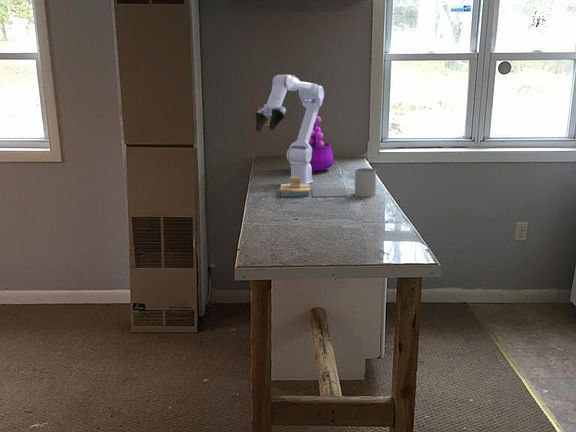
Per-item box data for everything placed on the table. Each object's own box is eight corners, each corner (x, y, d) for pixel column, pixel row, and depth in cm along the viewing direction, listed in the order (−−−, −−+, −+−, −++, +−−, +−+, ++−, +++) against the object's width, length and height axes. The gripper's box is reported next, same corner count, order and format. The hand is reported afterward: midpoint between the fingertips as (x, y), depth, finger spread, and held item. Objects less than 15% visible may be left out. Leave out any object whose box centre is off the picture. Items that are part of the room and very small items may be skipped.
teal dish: (282, 190, 260) (282, 185, 259) (308, 190, 260) (308, 185, 259) (281, 196, 249) (281, 192, 249) (308, 196, 249) (308, 191, 248)
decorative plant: (290, 168, 305) (289, 107, 296) (325, 165, 310) (325, 105, 302) (302, 175, 287) (301, 110, 279) (339, 172, 292) (339, 108, 284)
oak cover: (281, 185, 260) (280, 174, 258) (309, 185, 259) (309, 174, 258) (280, 192, 248) (280, 180, 247) (310, 191, 248) (310, 180, 247)
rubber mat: (311, 189, 261) (311, 188, 261) (344, 188, 261) (344, 187, 261) (312, 197, 247) (312, 196, 247) (347, 196, 247) (347, 195, 247)
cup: (374, 197, 246) (375, 172, 244) (354, 196, 248) (354, 172, 245) (375, 192, 254) (376, 168, 252) (356, 191, 256) (356, 167, 253)
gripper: (256, 97, 249) (245, 126, 244) (282, 92, 238) (270, 122, 234) (267, 107, 253) (257, 135, 249) (293, 102, 243) (282, 132, 239)
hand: (264, 129), depth 242 cm, fingers open, 7 cm apart
